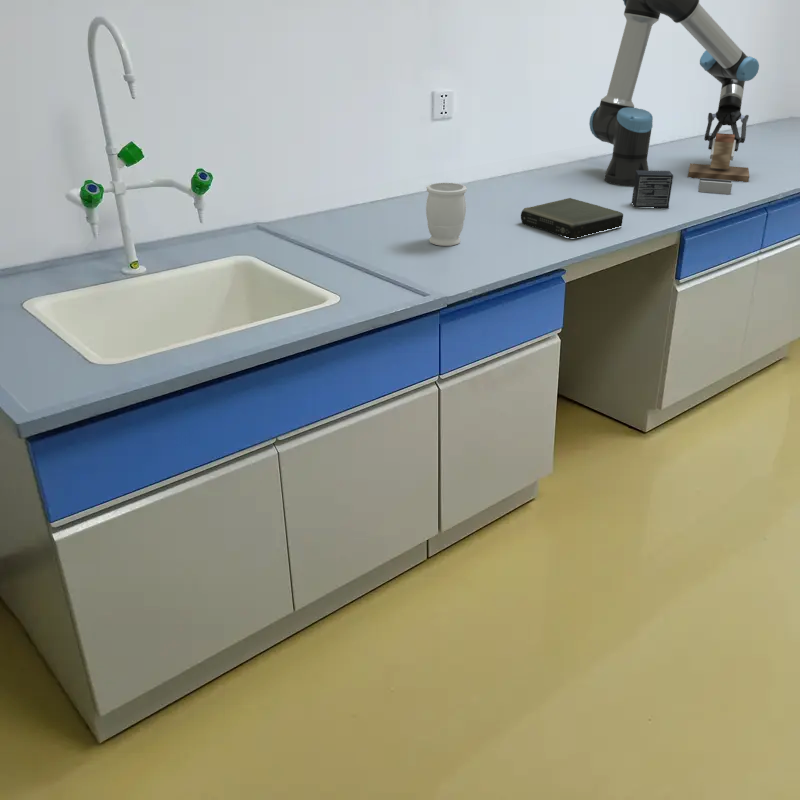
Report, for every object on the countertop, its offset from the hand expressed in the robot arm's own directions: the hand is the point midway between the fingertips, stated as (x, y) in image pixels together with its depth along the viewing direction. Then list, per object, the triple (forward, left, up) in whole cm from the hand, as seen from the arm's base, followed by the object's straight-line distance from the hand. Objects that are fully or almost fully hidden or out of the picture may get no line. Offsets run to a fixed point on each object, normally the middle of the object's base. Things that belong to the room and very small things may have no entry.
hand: (721, 157), depth 283 cm
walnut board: (0, +4, -7) cm, 8 cm away
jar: (-70, -103, -7) cm, 125 cm away
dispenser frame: (-1, -18, -7) cm, 20 cm away
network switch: (-40, -76, -8) cm, 87 cm away
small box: (-20, -46, -7) cm, 51 cm away
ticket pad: (0, +4, -4) cm, 5 cm away
